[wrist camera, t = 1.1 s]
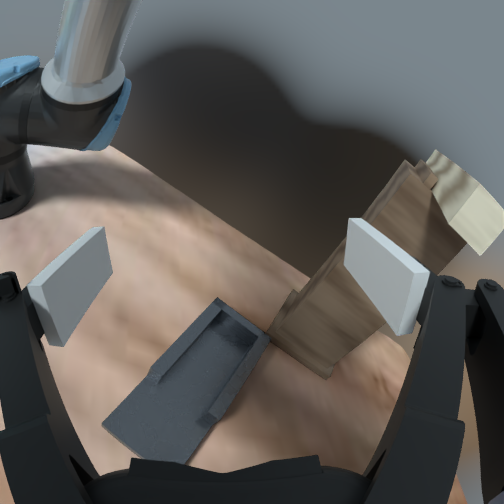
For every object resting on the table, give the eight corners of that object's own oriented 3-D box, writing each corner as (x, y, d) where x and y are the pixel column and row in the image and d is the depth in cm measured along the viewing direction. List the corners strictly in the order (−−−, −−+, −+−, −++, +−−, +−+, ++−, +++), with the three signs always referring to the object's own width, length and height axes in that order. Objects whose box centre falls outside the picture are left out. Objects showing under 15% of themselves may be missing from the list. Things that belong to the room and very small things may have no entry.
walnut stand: (290, 293, 53) (404, 145, 34) (341, 331, 51) (467, 201, 33) (263, 336, 43) (411, 157, 25) (325, 379, 42) (491, 233, 23)
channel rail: (207, 313, 42) (217, 297, 39) (258, 351, 41) (271, 338, 38) (101, 426, 24) (101, 418, 22) (170, 479, 23) (179, 478, 21)
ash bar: (420, 170, 36) (435, 149, 33) (440, 188, 35) (455, 167, 33) (448, 223, 18) (480, 183, 16) (480, 256, 18) (511, 219, 15)
